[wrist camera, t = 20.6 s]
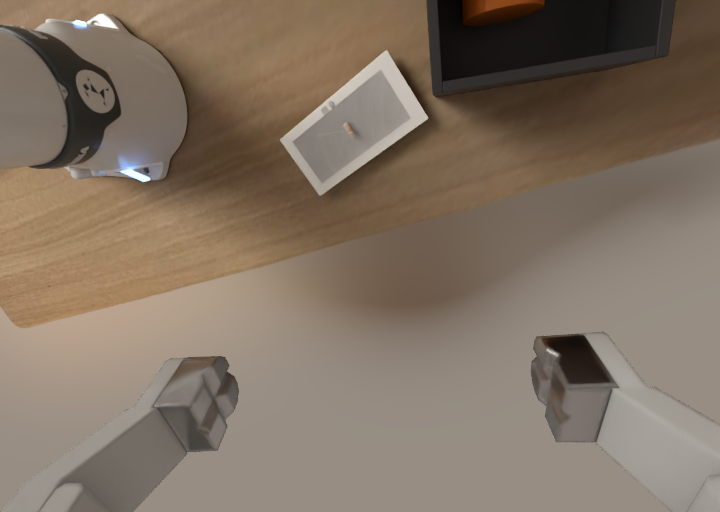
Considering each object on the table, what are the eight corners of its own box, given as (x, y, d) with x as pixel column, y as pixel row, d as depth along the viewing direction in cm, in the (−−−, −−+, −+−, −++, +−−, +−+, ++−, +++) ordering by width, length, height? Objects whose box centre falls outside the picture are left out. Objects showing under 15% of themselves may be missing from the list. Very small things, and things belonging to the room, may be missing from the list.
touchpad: (428, 118, 39) (428, 118, 37) (322, 194, 44) (316, 198, 42) (388, 51, 37) (384, 48, 35) (283, 139, 43) (275, 140, 41)
